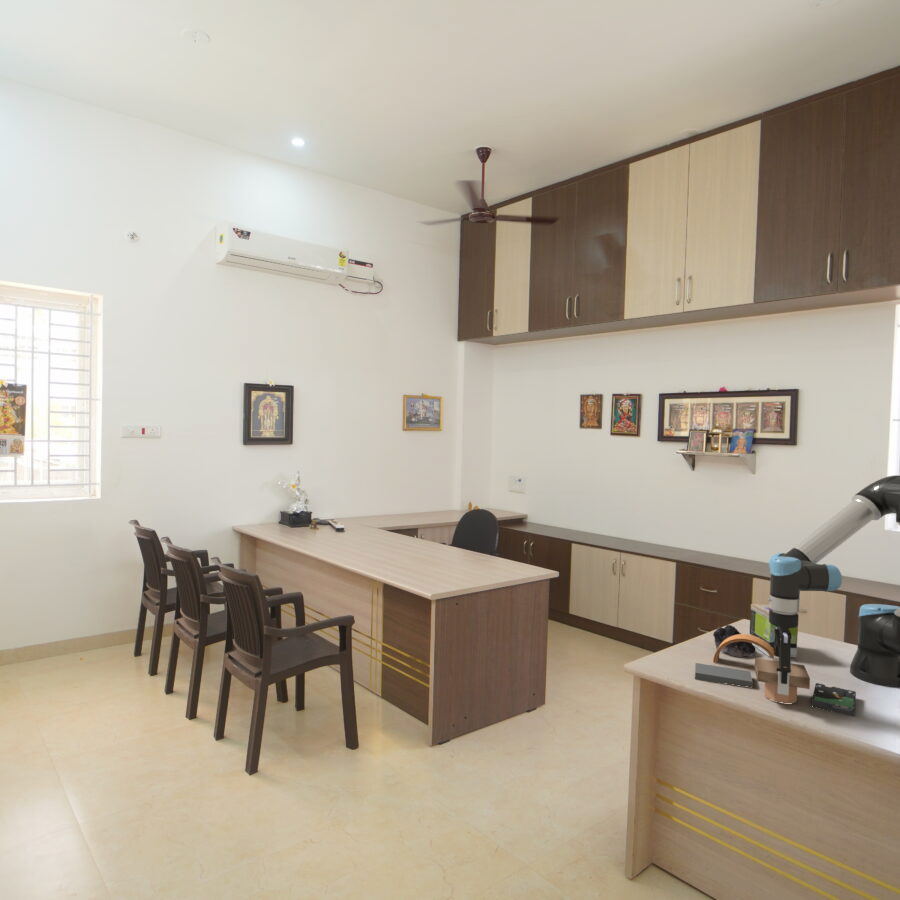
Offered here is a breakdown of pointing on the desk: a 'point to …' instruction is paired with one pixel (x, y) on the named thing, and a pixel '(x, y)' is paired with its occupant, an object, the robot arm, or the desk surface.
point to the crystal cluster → (736, 647)
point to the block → (723, 675)
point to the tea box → (767, 628)
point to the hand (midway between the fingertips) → (780, 686)
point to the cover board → (770, 675)
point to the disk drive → (834, 699)
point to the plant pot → (771, 693)
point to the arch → (745, 638)
